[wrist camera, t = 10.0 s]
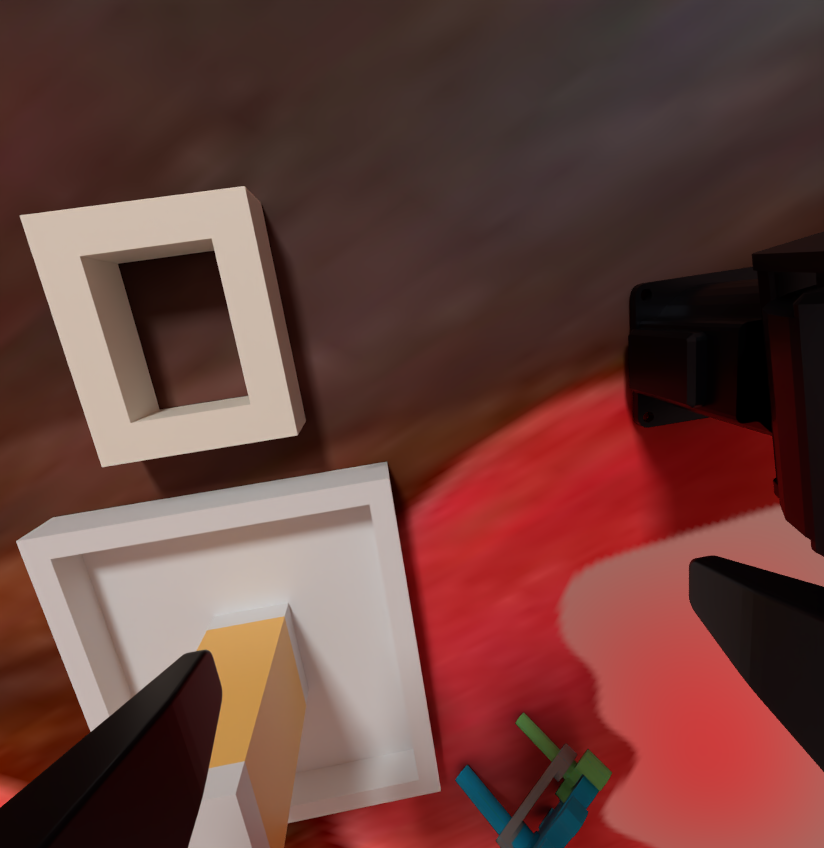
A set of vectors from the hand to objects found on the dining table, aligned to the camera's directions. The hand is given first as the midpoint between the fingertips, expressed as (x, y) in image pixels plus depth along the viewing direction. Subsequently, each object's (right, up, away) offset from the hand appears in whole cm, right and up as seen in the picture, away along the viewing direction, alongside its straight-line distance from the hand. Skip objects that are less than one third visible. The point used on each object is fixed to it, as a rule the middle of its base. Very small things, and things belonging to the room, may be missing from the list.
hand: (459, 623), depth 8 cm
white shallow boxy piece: (-10, +8, +11) cm, 16 cm away
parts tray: (-8, -7, +14) cm, 18 cm away
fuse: (-8, -8, +14) cm, 18 cm away
